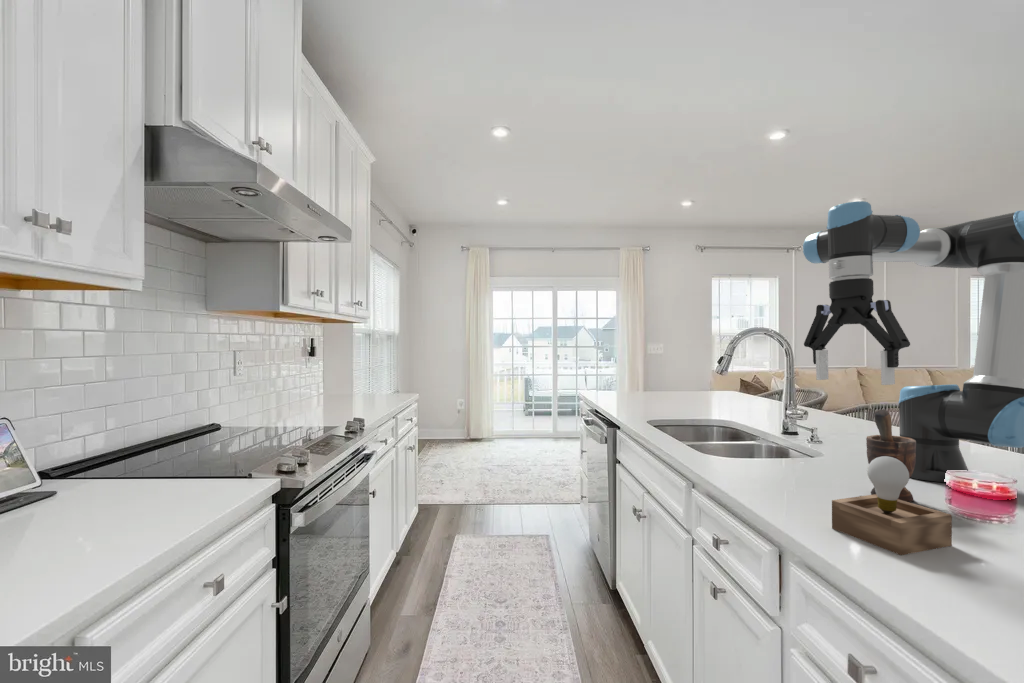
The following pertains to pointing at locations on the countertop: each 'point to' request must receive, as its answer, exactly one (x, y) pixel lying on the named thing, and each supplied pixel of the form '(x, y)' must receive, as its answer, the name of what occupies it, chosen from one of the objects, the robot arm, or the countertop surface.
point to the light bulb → (887, 481)
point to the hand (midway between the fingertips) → (853, 382)
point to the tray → (892, 524)
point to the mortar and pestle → (891, 448)
